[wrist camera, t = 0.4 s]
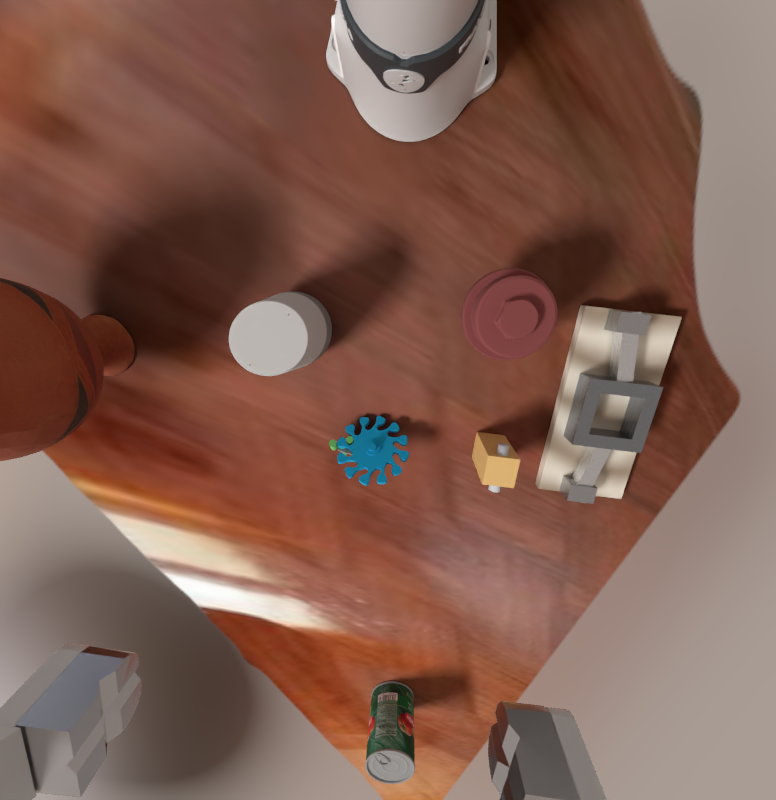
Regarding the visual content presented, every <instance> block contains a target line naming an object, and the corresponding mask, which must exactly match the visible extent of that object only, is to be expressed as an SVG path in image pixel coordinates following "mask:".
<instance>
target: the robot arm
mask: <svg viewBox="0 0 776 800" xmlns="http://www.w3.org/2000/svg"><path fill="white" fill-rule="evenodd" d="M335 1H337V6H336V10H335V15H333V16H332V21H331V22H332V29H331V34H330V38H329V43H328V47H327V53H326V59H327V64H328V67H329V69H330V70H331V72H332V73H333V74H334V75H335V76H336V77H337V78H338V79H339V80H340V81H341V82H342V83H343V84H344V85H345V86H346V87H347V89H348V91H349V93H350V95H351V97H352V99H353V101H354V103H355V106H356V107H357V109H358V111H359V113H360V114H361V115H362V117H363V118H364V119H365V121H366V122H367V123H368V124H369V125H370V126H371V127H372V128H373V129H375V130H376V131H377V132H379V133H380V134H382V135H384V136H386V137H388V138H391V139H394V140H398V141H404V142H414V141H421V140H424V139H428V138H430V137H433V136H435V135H437V134H438V133H440V132H441V131H443V130H444V129H446V128H447V127H448V126H449V125H450V124H451V123H452V122H453V121H454V120H455V119H456V118H457V117H458V115H459V114H460V113H461V111H462V110H463V109H464V107H465V106H466V105H467V104H468V103H469V102H470V101H471V100H472V99H473V98H475V97H477V96H479V95H480V94H482V93H483V92H485V91H486V90H488V89H489V88H490V87H491V86H492V85H493V83H494V81H495V77H496V72H497V0H335ZM485 59H487V60H488V64H487V65H484V63H485ZM138 665H139V660H138V654H137V653H131V652H125V651H118V650H111V649H105V648H99V647H92V646H87V645H79V644H72V643H67V644H65V645H64V646H62V647H61V648H59V649H57V650H56V651H55V652H54V653H53V654H52V656H50V657H49V658H48V660H47V661H46V662H45V663H44V664H43V665H42V666H41V667H40V668H39V669H38V670H37V671H36V672H35V673H34V674H33V675H32V676H31V677H30V678H29V679H28V680H27V681H26V682H25V683H24V684H23V685H22V686H21V687H20V688H19V690H17V691H16V693H15V694H14V695H13V696H12V697H11V698H10V699H9V700H8V701H7V702H6V703H5V704H4V705H3V706H2V707H1V708H0V800H32V799H33V798H34V797H35V796H36V793H45V794H55V795H66V796H75V797H81V796H82V794H83V793H84V791H85V789H86V788H87V786H88V785H89V783H90V782H91V780H92V778H93V777H94V775H95V774H96V772H97V771H98V769H99V768H100V766H101V765H102V763H103V761H104V760H105V758H106V757H107V743H108V742H109V741H110V740H112V739H113V738H115V737H116V736H117V735H118V734H120V733H121V732H123V730H124V729H125V727H126V725H127V724H128V722H129V720H130V719H131V717H132V716H133V713H134V711H135V708H136V706H137V704H138V701H139V698H140V693H141V679H140V678H139V677H138V676H137V675H136V673H135V672H134V671H135V670H136V668H137V667H138ZM495 714H496V719H497V723H496V724H494V725H493V726H491V730H490V734H489V742H488V757H489V767H490V774H491V780H492V783H493V784H494V785H495V787H496V789H497V790H498V792H499V793H500V795H501V797H500V800H607V799H606V797H605V794H604V791H603V789H602V786H601V784H600V782H599V779H598V776H597V774H596V771H595V769H594V766H593V764H592V761H591V759H590V756H589V754H588V751H587V749H586V746H585V744H584V741H583V738H582V736H581V733H580V731H579V728H578V726H577V723H576V721H575V719H574V716H573V715H572V714H571V712H570V711H568V710H566V709H556V708H547V707H544V706H539V705H529V704H521V703H512V702H504V701H500V702H499V703H498V704H497V708H496V711H495Z"/></svg>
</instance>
